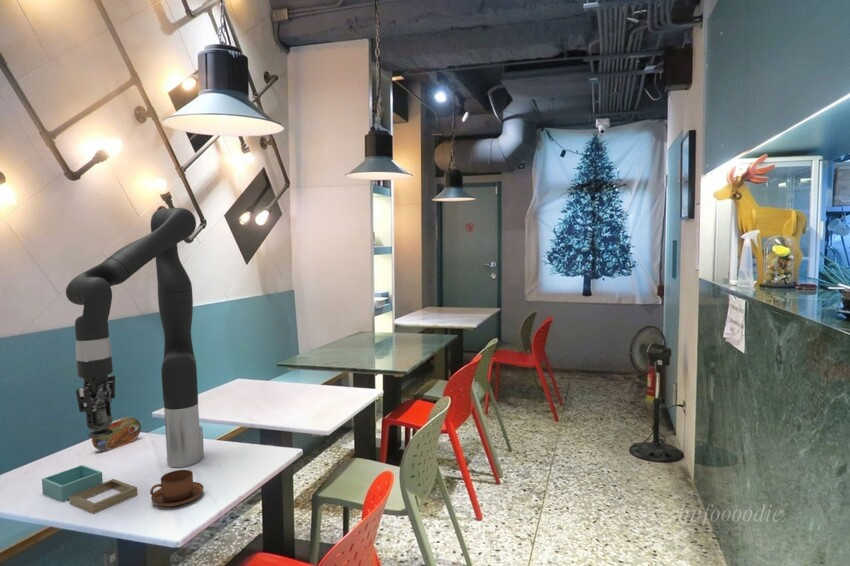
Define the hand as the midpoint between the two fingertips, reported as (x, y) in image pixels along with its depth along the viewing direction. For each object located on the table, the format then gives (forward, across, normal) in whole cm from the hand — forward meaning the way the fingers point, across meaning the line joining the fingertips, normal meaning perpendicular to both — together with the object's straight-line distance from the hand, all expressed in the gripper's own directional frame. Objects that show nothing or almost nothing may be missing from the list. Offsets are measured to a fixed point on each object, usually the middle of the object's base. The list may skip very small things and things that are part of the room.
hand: (99, 421), depth 133 cm
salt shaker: (+3, 0, 0) cm, 3 cm away
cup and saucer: (+21, +2, +19) cm, 28 cm away
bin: (+20, -7, -12) cm, 24 cm away
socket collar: (+20, 0, 0) cm, 20 cm away
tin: (+20, -39, -16) cm, 47 cm away
